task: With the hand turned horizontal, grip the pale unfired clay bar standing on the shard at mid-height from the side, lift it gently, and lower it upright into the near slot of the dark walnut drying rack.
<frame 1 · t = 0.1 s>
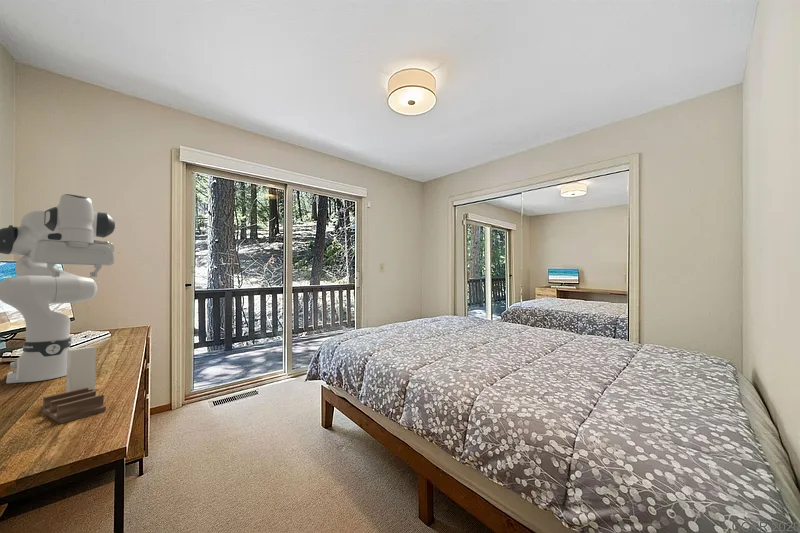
hand: (75, 276, 106), 39 cm above the table, tool pointing down, fingers open, 8 cm apart
shard: (81, 397, 98), on the table, touching clay bar
drying rack: (73, 410, 86), on the table
clay bar: (80, 390, 99), point 1 cm above the table, touching shard
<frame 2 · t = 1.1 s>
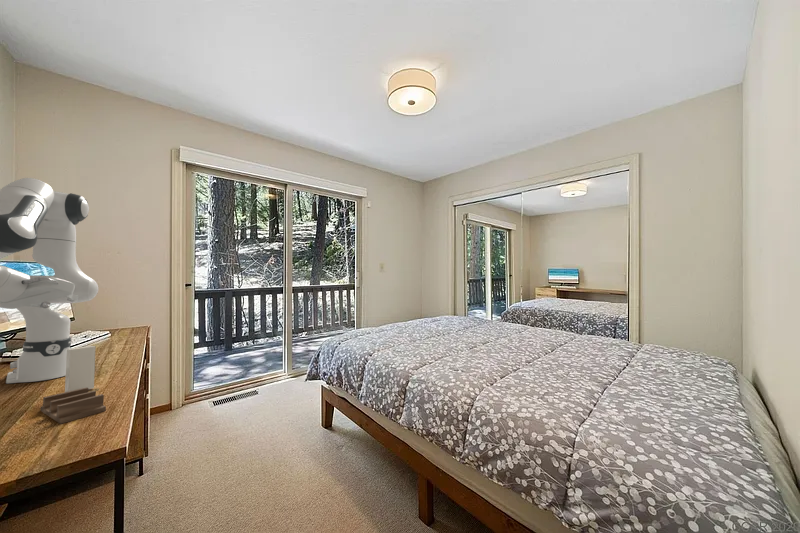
hand: (61, 302, 96), 31 cm above the table, tool tilted 65°, fingers open, 8 cm apart
nothing on the table moved.
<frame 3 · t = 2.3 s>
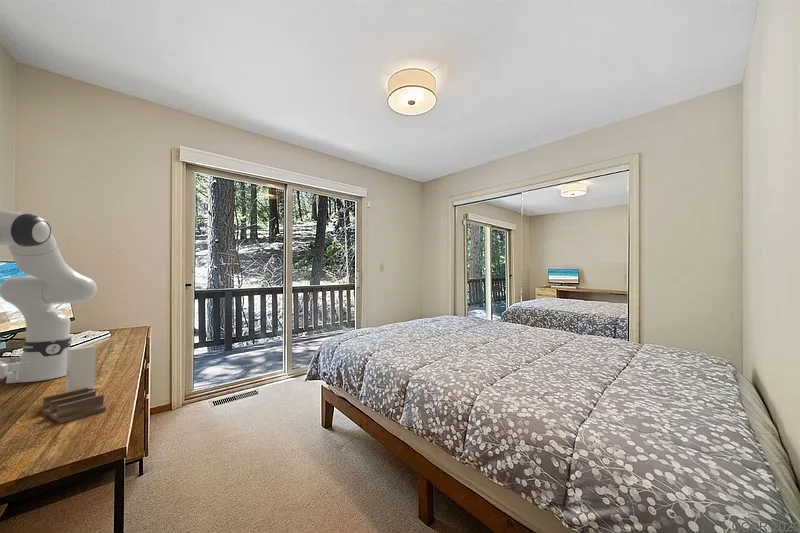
hand: (24, 361, 88), 14 cm above the table, tool horizontal, fingers open, 8 cm apart
shard: (81, 396, 98), on the table
clay bar: (80, 389, 99), point 1 cm above the table
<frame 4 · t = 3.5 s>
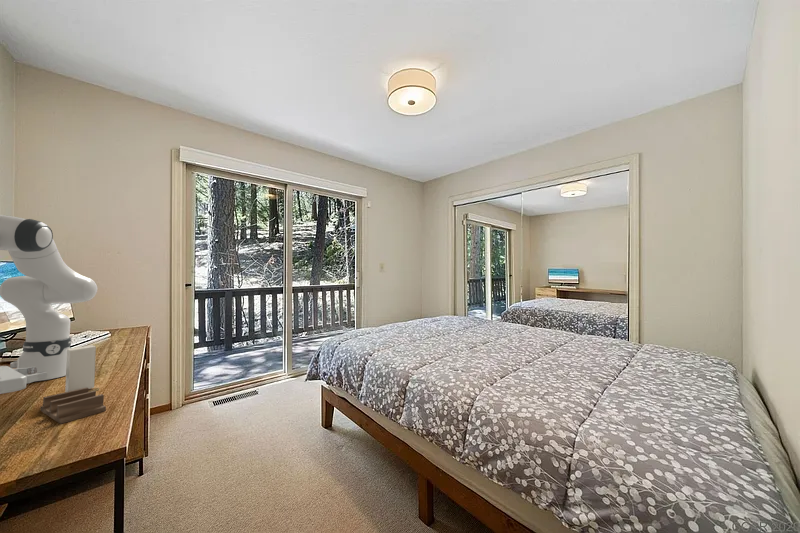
hand: (41, 372, 91), 10 cm above the table, tool horizontal, fingers open, 8 cm apart
shard: (81, 396, 98), on the table, touching clay bar
clay bar: (80, 389, 99), point 1 cm above the table, touching shard
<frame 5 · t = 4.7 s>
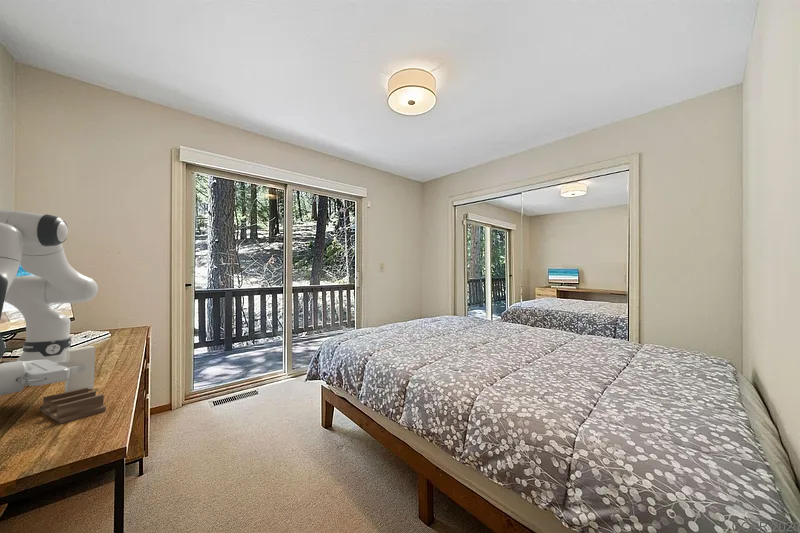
hand: (79, 365, 98), 10 cm above the table, tool horizontal, fingers open, 8 cm apart
shard: (81, 396, 98), on the table
clay bar: (79, 389, 99), point 1 cm above the table
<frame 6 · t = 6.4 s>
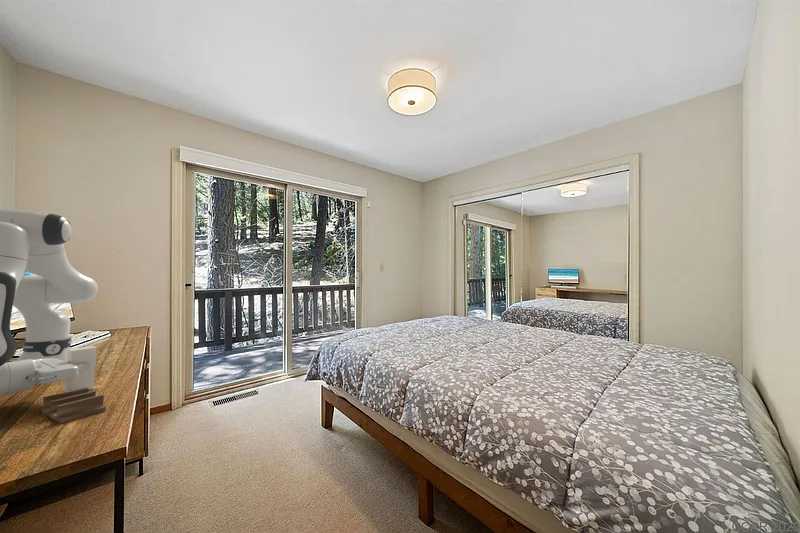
hand: (87, 363, 100), 10 cm above the table, tool horizontal, fingers closed on clay bar, 3 cm apart
shard: (82, 396, 98), on the table, touching clay bar
clay bar: (79, 390, 98), point 1 cm above the table, touching shard, gripper
when the fingers open (10 cm above the table, at t = 10.9 s): clay bar stays where it is, resting on drying rack.
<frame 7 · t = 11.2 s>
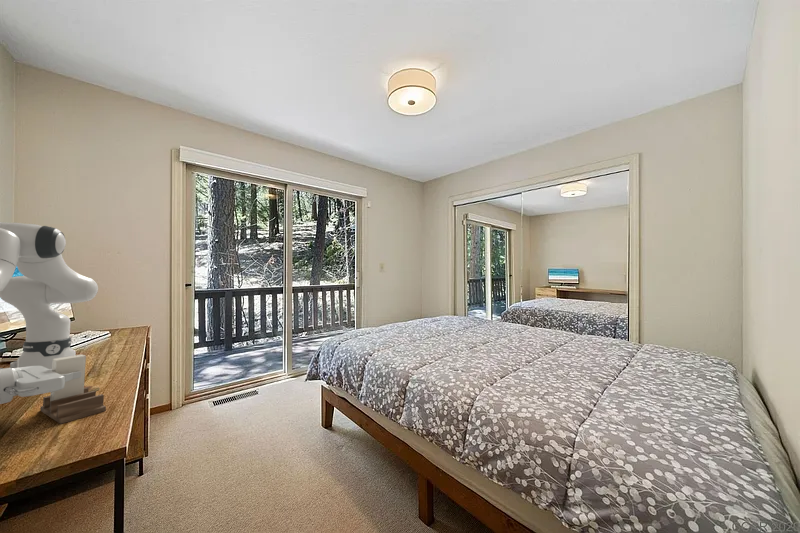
hand: (75, 372, 89), 10 cm above the table, tool horizontal, fingers open, 5 cm apart
shard: (82, 396, 98), on the table
clay bar: (66, 405, 87), point 1 cm above the table, touching drying rack
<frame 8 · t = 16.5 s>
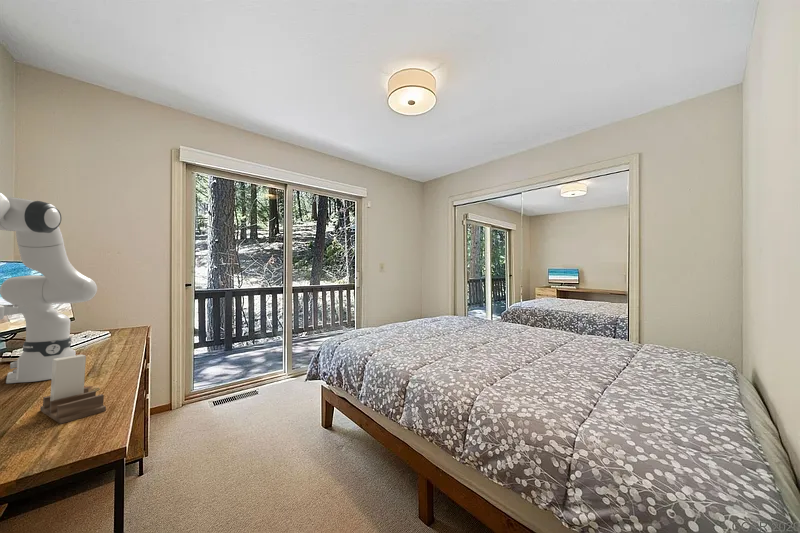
hand: (22, 308, 83), 30 cm above the table, tool horizontal, fingers open, 8 cm apart
nothing on the table moved.
at the end: clay bar 0.6 cm from the target spot on the drying rack, point 1.2 cm above the drying rack's base; clay bar tilted 0°; the gripper is holding nothing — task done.
